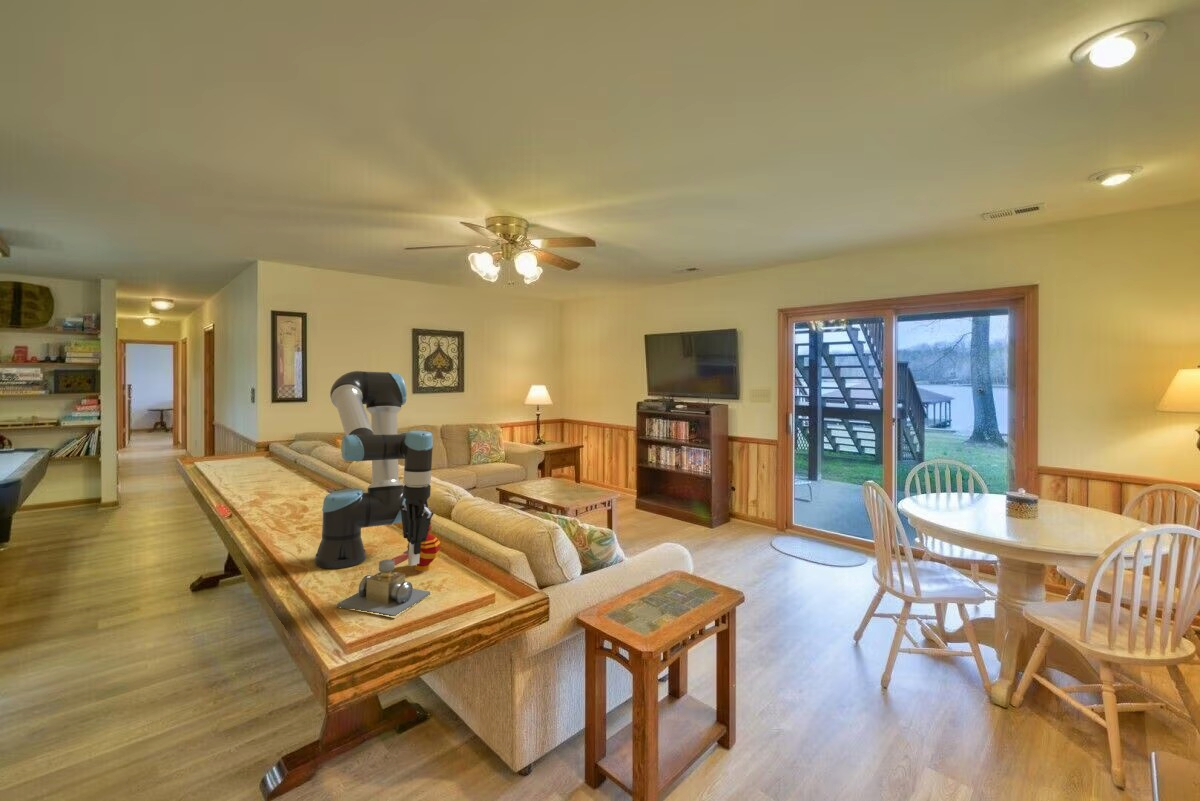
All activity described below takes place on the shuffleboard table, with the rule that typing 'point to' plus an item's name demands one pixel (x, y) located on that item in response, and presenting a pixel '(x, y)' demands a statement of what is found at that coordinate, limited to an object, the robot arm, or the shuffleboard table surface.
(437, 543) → the potion bottle
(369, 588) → the valve body
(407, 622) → the shuffleboard table surface
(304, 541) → the shuffleboard table surface
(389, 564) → the lever
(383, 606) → the slate board
